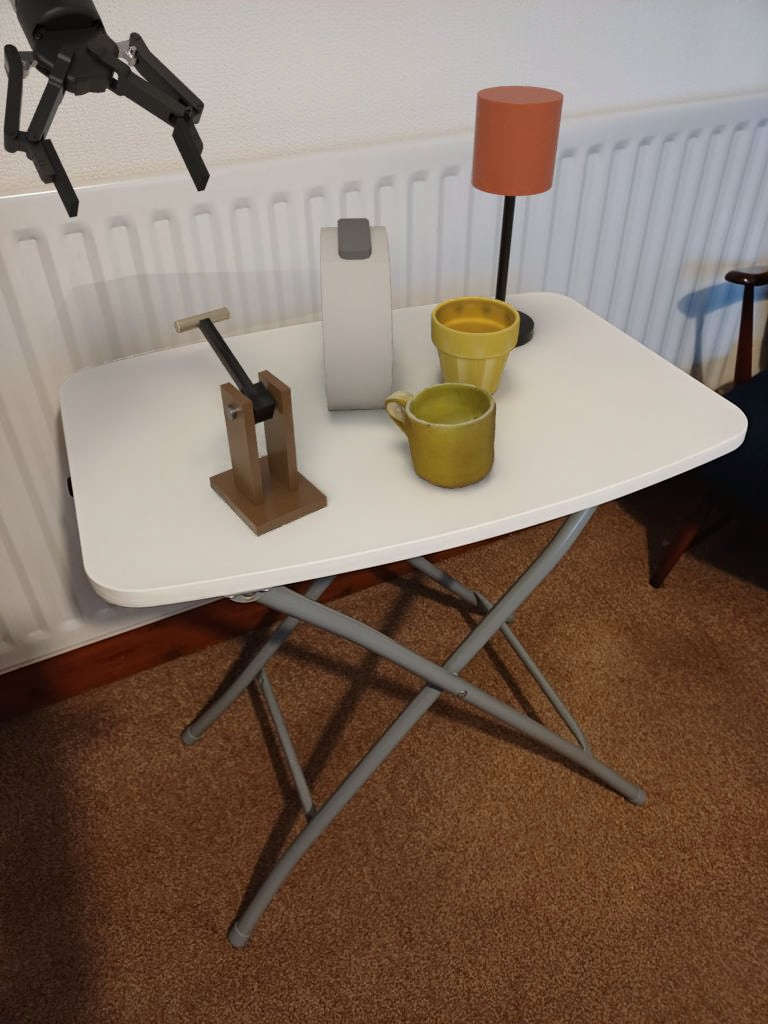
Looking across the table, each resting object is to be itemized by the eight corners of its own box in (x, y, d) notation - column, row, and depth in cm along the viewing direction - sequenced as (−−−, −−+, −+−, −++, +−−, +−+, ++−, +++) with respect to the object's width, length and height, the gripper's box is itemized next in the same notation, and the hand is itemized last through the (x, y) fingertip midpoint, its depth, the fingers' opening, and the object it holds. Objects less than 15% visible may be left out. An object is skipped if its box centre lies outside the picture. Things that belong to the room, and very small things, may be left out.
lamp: (466, 349, 106) (484, 104, 87) (456, 317, 114) (471, 86, 95) (539, 347, 106) (573, 103, 88) (525, 316, 114) (552, 85, 95)
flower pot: (455, 416, 93) (461, 340, 86) (413, 378, 100) (415, 305, 94) (528, 396, 96) (538, 321, 90) (482, 360, 103) (488, 289, 97)
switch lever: (173, 331, 77) (173, 314, 75) (223, 317, 79) (225, 300, 77) (236, 431, 73) (239, 416, 71) (287, 412, 75) (291, 397, 73)
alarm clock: (328, 344, 107) (320, 194, 95) (382, 343, 107) (382, 193, 95) (327, 428, 90) (318, 260, 78) (392, 426, 91) (393, 258, 78)
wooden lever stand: (210, 486, 82) (191, 377, 74) (276, 460, 85) (265, 354, 77) (257, 536, 76) (242, 423, 68) (327, 506, 79) (320, 395, 71)
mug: (530, 449, 84) (505, 375, 77) (470, 514, 80) (440, 442, 74) (447, 424, 92) (419, 355, 86) (390, 481, 88) (356, 414, 82)
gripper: (162, 20, 87) (243, 193, 87) (-79, 42, 76) (13, 242, 76) (175, -35, 80) (262, 153, 80) (-88, -20, 69) (13, 199, 69)
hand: (142, 196), depth 78 cm, fingers open, 13 cm apart
